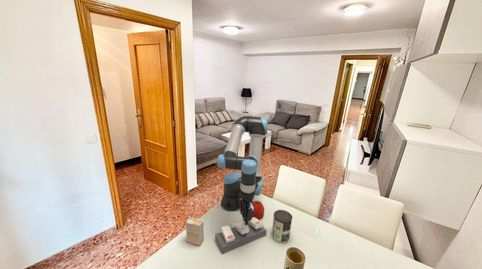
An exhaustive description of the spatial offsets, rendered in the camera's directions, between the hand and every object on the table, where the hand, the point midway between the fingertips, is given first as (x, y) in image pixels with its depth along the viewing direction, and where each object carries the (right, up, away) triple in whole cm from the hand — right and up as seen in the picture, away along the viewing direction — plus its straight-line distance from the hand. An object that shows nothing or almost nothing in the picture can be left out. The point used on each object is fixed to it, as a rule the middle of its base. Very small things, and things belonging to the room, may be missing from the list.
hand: (244, 228), depth 104 cm
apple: (+8, -3, +24) cm, 25 cm away
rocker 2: (-2, -3, +4) cm, 5 cm away
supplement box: (-27, -8, +1) cm, 28 cm away
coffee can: (+21, -8, +8) cm, 24 cm away
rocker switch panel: (-2, -8, +5) cm, 9 cm away
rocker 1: (-10, -3, -1) cm, 10 cm away
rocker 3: (+6, -2, +8) cm, 10 cm away
